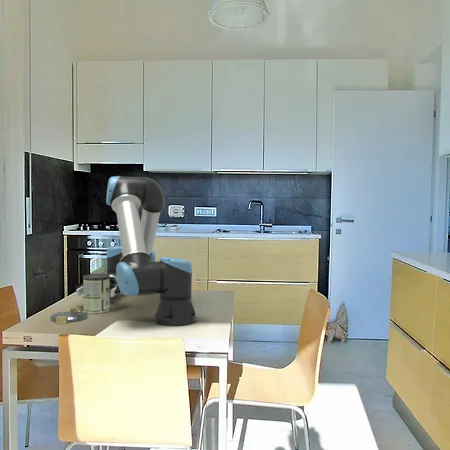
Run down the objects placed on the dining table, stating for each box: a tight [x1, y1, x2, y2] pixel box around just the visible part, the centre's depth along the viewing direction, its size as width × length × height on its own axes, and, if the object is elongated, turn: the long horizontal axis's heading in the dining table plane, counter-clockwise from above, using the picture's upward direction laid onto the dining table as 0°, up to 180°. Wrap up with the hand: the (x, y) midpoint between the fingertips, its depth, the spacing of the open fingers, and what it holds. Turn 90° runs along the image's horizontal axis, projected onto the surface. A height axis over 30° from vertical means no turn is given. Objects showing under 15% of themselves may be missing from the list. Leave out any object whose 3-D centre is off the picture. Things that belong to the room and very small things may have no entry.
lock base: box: [50, 306, 88, 325], centre depth 174 cm, size 16×13×2 cm
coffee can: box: [82, 273, 111, 314], centre depth 186 cm, size 10×10×14 cm
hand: (94, 293), depth 184 cm, fingers open, 13 cm apart
